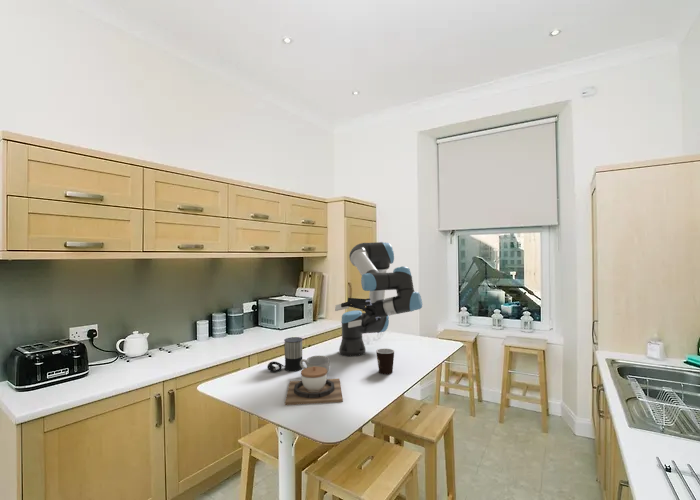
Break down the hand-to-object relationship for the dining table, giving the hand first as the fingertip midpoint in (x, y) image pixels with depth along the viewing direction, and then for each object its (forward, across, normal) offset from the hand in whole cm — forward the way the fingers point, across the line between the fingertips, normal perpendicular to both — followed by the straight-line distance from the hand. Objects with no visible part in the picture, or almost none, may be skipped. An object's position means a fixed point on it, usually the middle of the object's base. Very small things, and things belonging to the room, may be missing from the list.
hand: (342, 316), depth 156 cm
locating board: (+13, +6, -31) cm, 34 cm away
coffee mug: (-9, +33, -11) cm, 36 cm away
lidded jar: (+12, +6, -30) cm, 33 cm away
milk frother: (+38, +17, -12) cm, 43 cm away
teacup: (+21, +17, -17) cm, 32 cm away
